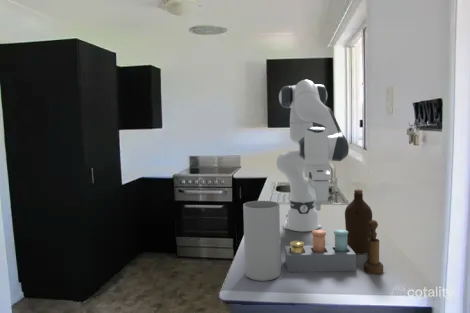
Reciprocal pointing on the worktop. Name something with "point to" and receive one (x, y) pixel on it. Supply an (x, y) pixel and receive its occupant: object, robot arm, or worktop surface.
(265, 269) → the cylinder vase
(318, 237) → the plug
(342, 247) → the plug
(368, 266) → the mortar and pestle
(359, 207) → the olive oil
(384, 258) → the worktop surface
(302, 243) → the plug
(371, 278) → the worktop surface
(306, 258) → the grey plug holder block
